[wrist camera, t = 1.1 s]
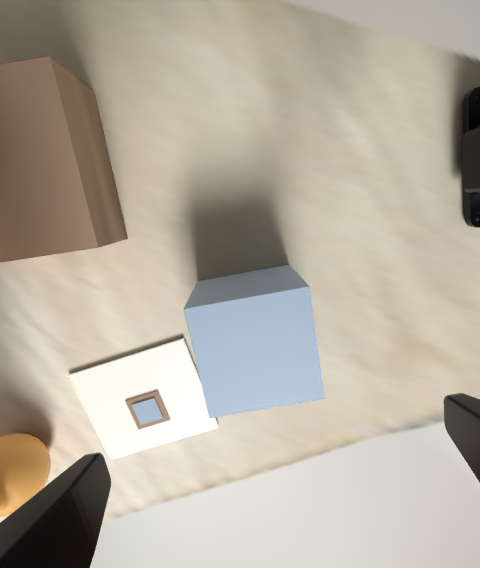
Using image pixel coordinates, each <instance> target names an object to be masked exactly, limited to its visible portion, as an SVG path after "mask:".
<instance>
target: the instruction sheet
mask: <svg viewBox="0 0 480 568" xmlns="http://www.w3.org/2000/svg"><path fill="white" fill-rule="evenodd" d="M68 377H69V379H70V381H71V383H72V385H73V387H74V389H75V391H76V393H77V395H78V397H79V399H80V401H81V403H82V405H83V407H84V409H85V411H86V413H87V415H88V417H89V419H90V421H91V423H92V425H93V427H94V429H95V431H96V433H97V435H98V437H99V439H100V441H101V443H102V445H103V447H104V449H105V451H106V453H107V455H108V457H109V459H110V460H113V459H116V458H120V457H123V456H126V455H130V454H133V453H136V452H140V451H143V450H146V449H150V448H153V447H156V446H160V445H163V444H166V443H170V442H173V441H176V440H180V439H183V438H187V437H190V436H193V435H197V434H200V433H203V432H207V431H210V430H213V429H217V428H219V425H218V422H217V420H216V417H214V418H209V415H208V411H207V406H206V402H205V398H204V393H203V389H202V385H201V381H200V377H199V375H198V372H197V370H196V367H195V365H194V362H193V360H192V357H191V355H190V352H189V350H188V347H187V345H186V342H185V340H184V338H181V339H178V340H175V341H172V342H169V343H165V344H162V345H159V346H156V347H153V348H150V349H147V350H143V351H140V352H137V353H134V354H131V355H128V356H125V357H121V358H118V359H115V360H112V361H109V362H106V363H103V364H99V365H96V366H93V367H90V368H87V369H84V370H81V371H78V372H74V373H71V374H69V375H68Z"/></svg>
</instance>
